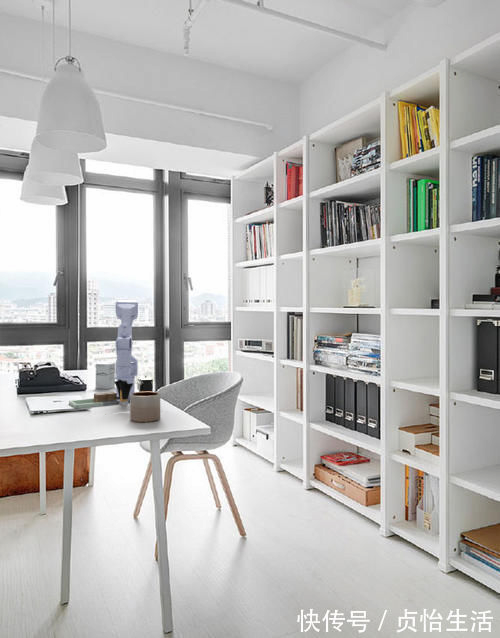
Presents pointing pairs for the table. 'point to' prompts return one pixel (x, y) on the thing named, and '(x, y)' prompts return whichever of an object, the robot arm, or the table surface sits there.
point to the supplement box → (105, 375)
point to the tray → (84, 403)
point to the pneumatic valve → (145, 384)
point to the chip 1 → (99, 397)
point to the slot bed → (113, 401)
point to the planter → (145, 406)
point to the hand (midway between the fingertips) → (123, 398)
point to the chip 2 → (111, 396)
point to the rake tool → (121, 401)
